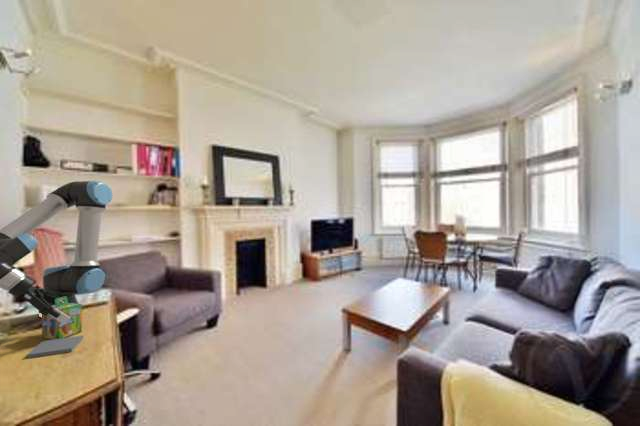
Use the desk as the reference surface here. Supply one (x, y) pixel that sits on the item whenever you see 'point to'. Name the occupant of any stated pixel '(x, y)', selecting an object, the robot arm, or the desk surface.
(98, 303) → the desk surface
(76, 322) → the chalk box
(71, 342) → the charcoal mat
